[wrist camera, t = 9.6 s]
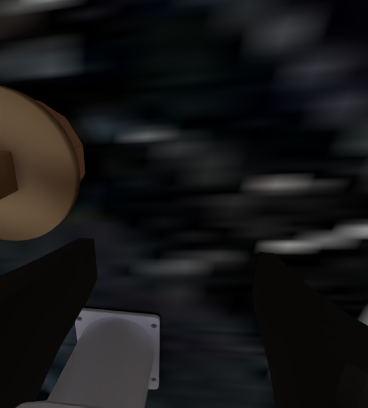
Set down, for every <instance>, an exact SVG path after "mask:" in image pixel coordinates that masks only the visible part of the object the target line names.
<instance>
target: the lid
mask: <svg viewBox="0 0 368 408" xmlns="http://www.w3.org/2000/svg"><path fill="white" fill-rule="evenodd" d="M79 189H80V168H79V161H78V158H77V154H76V151H75V149H74V146H73V144H72V141H71V140H70V138H69V136H68V134H67V132H66V131H65V129H64V128H63V127H62V125H61V124H60V122H59V121H58V120H57V119H56V118H55V117H54V116H53V115H52V113H51V112H49V111H48V110H47V109H46V108H45V107H44V106H43V105H41V104H40V103H39V102H37V101H36V100H34V99H33V98H31V97H29V96H28V95H26V94H24V93H22V92H19V91H17V90H14V89H12V88H8V87H4V86H0V239H4V240H28V239H32V238H36V237H39V236H41V235H44V234H46V233H47V232H49V231H51V230H52V229H53V228H54V227H56V226H57V225H58V224H59V223H60V222H61V221H62V220H64V219H65V218H66V216H67V215H68V214H69V213H70V211H71V210H72V208H73V207H74V205H75V202H76V200H77V197H78V193H79Z"/></svg>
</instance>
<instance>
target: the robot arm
mask: <svg viewBox="0 0 368 408" xmlns="http://www.w3.org/2000/svg"><path fill="white" fill-rule="evenodd" d="M96 280H97V268H96V256H95V243H94V239H88V238H79V239H77V240H75V241H72V242H70V243H68V244H66V245H64V246H63V247H61V248H59V249H57V250H55V251H53V252H51V253H49V254H47V255H45V256H43V257H41V258H39V259H37V260H35V261H32V262H30V263H28V264H26V265H24V266H22V267H20V268H17V269H15V270H13V271H10V272H8V273H5V274H3V275H0V408H144V407H145V402H146V397H147V392H148V389H157V388H158V386H159V353H160V317H159V316H157V315H153V314H143V313H132V312H121V311H111V310H100V309H90V308H83V307H84V306H85V304H86V302H87V300H88V299H89V297H90V294H91V292H92V290H93V287H94V285H95V282H96ZM252 293H253V301H254V309H255V315H256V319H257V323H258V326H259V330H260V334H261V338H262V342H263V346H264V349H265V353H266V357H267V361H268V365H269V370H270V374H271V381H272V387H273V393H274V400H275V407H276V408H368V326H367V325H366V324H364V323H362V322H360V321H359V320H357V319H355V318H353V317H352V316H350V315H349V314H347V313H345V312H344V311H342V310H341V309H340V308H338V307H337V306H335V305H334V304H332V303H331V302H329V301H328V300H327V299H325V298H324V297H323V296H321V295H320V294H319V293H317V292H316V291H315V290H314V289H312V288H311V287H310V286H309V285H308V284H306V283H305V282H304V281H303V280H302V279H301V278H300V277H298V276H297V275H296V274H295V273H294V272H293V271H292V270H291V269H290V268H289V267H288V266H287V265H286V264H284V263H283V262H282V261H281V260H280V259H279V258H278V257H277V256H276V255H275V254H274V253H263V252H259V254H258V260H257V266H256V272H255V278H254V284H253V290H252ZM80 317H81V318H80ZM74 322H75V327H76V334H77V344H76V346H75V348H74V350H73V352H72V354H71V356H70V358H69V359H68V361H67V363H66V365H65V367H64V369H63V371H62V373H61V375H60V377H59V379H58V381H57V382H56V384H55V386H54V388H53V390H52V392H51V394H50V396H49V398H48V400H47V401H36V399H37V396H38V394H39V392H40V389H41V387H42V385H43V383H44V380H45V378H46V376H47V374H48V371H49V369H50V367H51V365H52V363H53V361H54V358H55V356H56V354H57V352H58V350H59V348H60V346H61V345H62V343H63V341H64V339H65V338H66V336H67V334H68V332H69V331H70V329H71V327H72V326H73V324H74ZM153 324H156V325H153ZM35 401H36V402H35Z"/></svg>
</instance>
